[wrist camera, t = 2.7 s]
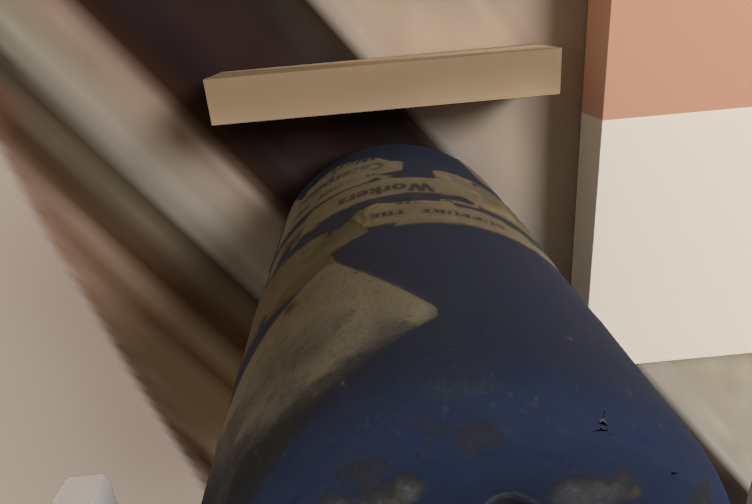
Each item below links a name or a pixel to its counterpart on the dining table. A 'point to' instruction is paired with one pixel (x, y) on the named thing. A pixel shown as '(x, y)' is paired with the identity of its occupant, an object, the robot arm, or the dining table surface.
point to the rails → (383, 83)
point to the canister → (437, 361)
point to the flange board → (667, 177)
